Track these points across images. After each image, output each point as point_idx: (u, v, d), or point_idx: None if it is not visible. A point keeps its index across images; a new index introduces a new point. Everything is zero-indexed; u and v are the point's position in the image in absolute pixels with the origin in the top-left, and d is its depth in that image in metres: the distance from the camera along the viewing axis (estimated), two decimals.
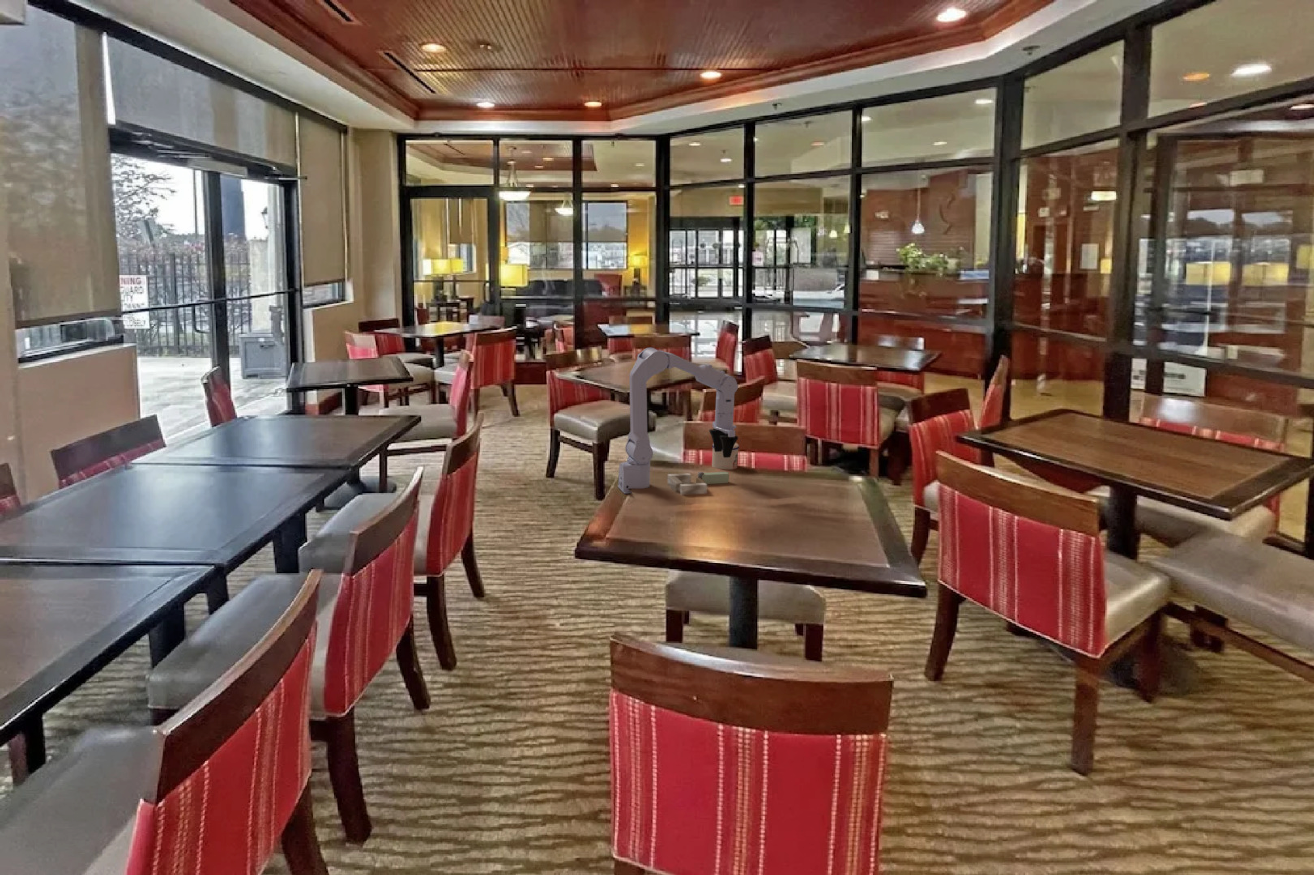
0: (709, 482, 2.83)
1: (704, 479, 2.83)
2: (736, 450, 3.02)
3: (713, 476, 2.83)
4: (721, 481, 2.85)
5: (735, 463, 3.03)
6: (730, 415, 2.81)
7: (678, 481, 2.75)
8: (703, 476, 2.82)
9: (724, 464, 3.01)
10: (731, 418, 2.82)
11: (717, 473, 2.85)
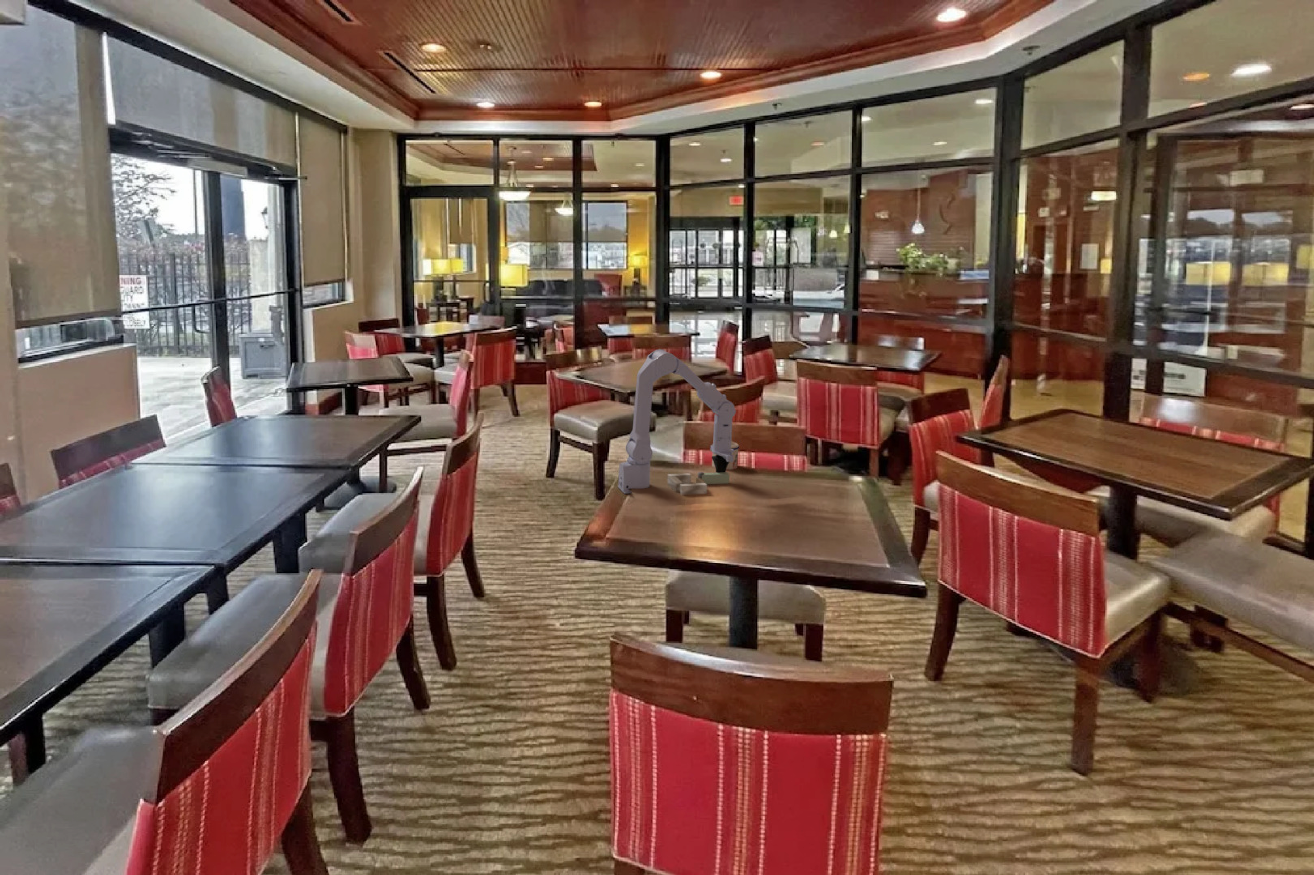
0: (709, 482, 2.83)
1: (704, 479, 2.82)
2: (736, 450, 3.02)
3: (713, 476, 2.83)
4: (721, 481, 2.84)
5: (735, 463, 3.03)
6: (728, 439, 2.82)
7: (678, 481, 2.75)
8: (703, 476, 2.82)
9: None
10: (729, 442, 2.82)
11: (717, 473, 2.84)
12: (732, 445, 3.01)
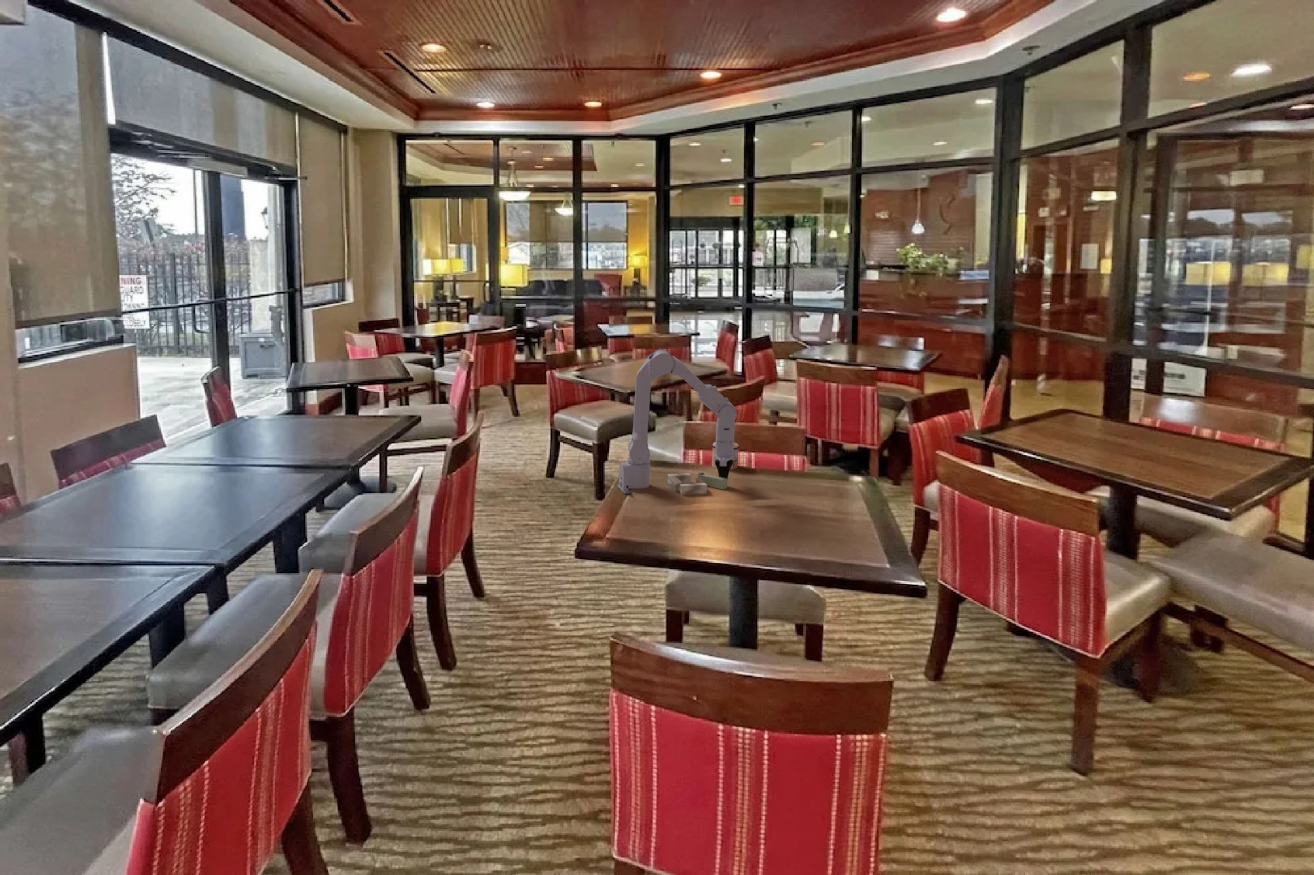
0: None
1: None
2: (736, 450, 3.02)
3: (708, 478, 2.80)
4: (716, 486, 2.79)
5: (735, 463, 3.03)
6: (727, 444, 2.76)
7: (678, 481, 2.75)
8: (699, 476, 2.82)
9: None
10: (729, 447, 2.76)
11: (715, 477, 2.80)
12: None
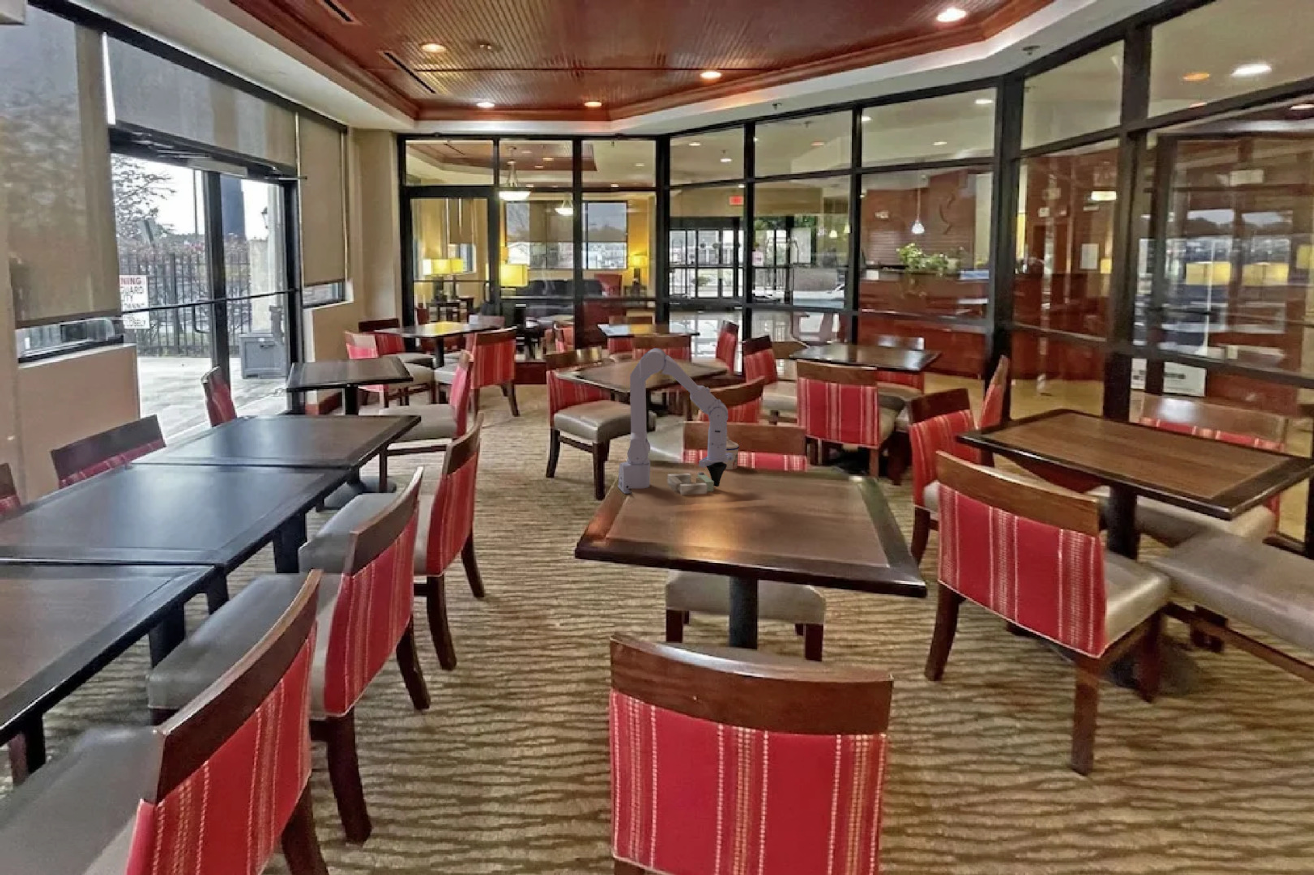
0: None
1: None
2: (736, 450, 3.02)
3: None
4: None
5: (735, 463, 3.03)
6: (714, 446, 2.72)
7: (678, 481, 2.75)
8: (697, 476, 2.83)
9: None
10: (716, 450, 2.72)
11: (705, 478, 2.78)
12: (732, 445, 3.01)
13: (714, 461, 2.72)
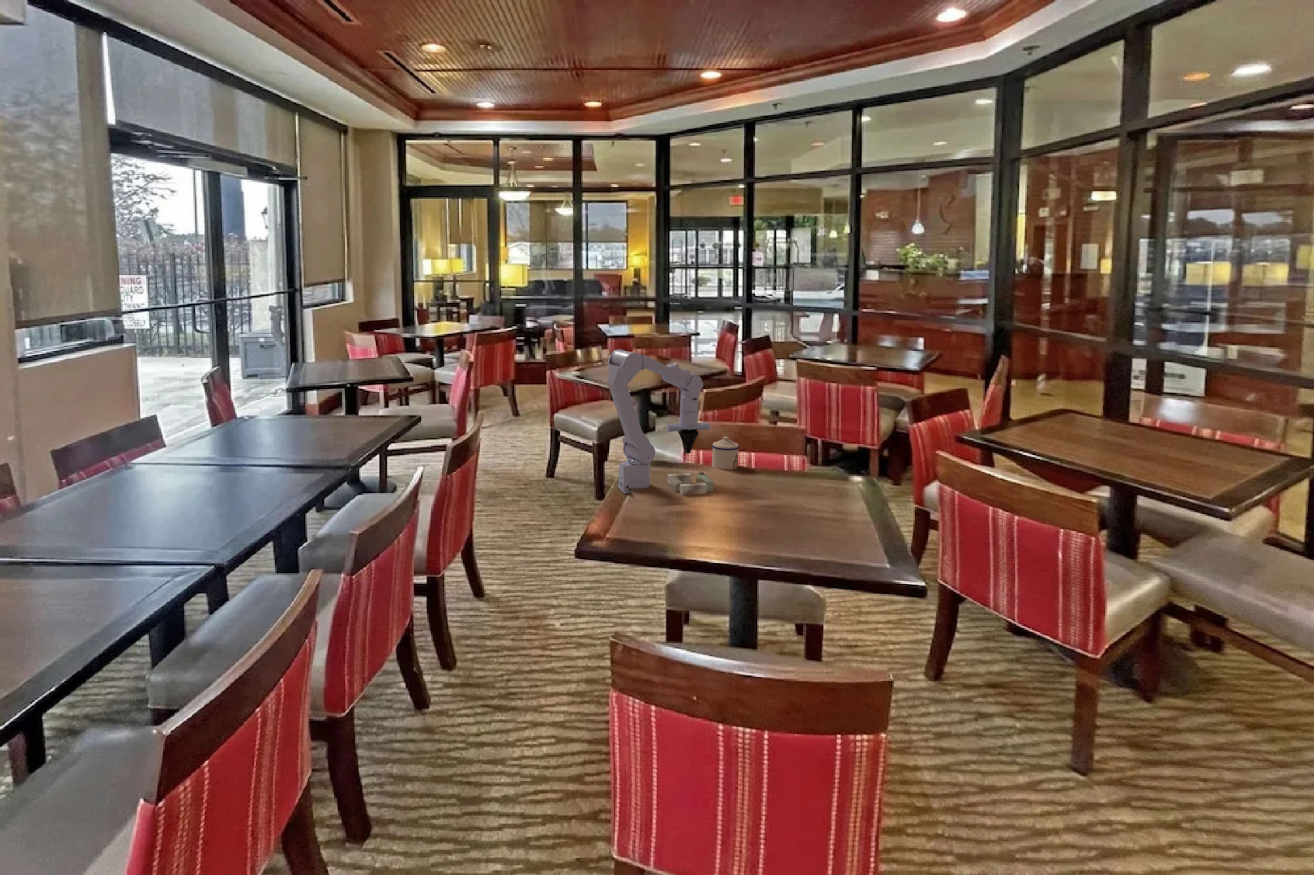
0: None
1: None
2: (736, 450, 3.02)
3: None
4: None
5: (735, 463, 3.03)
6: (682, 413, 2.83)
7: (678, 481, 2.75)
8: (697, 476, 2.83)
9: (724, 464, 3.01)
10: (684, 416, 2.83)
11: (705, 478, 2.78)
12: (732, 445, 3.01)
13: (680, 427, 2.83)
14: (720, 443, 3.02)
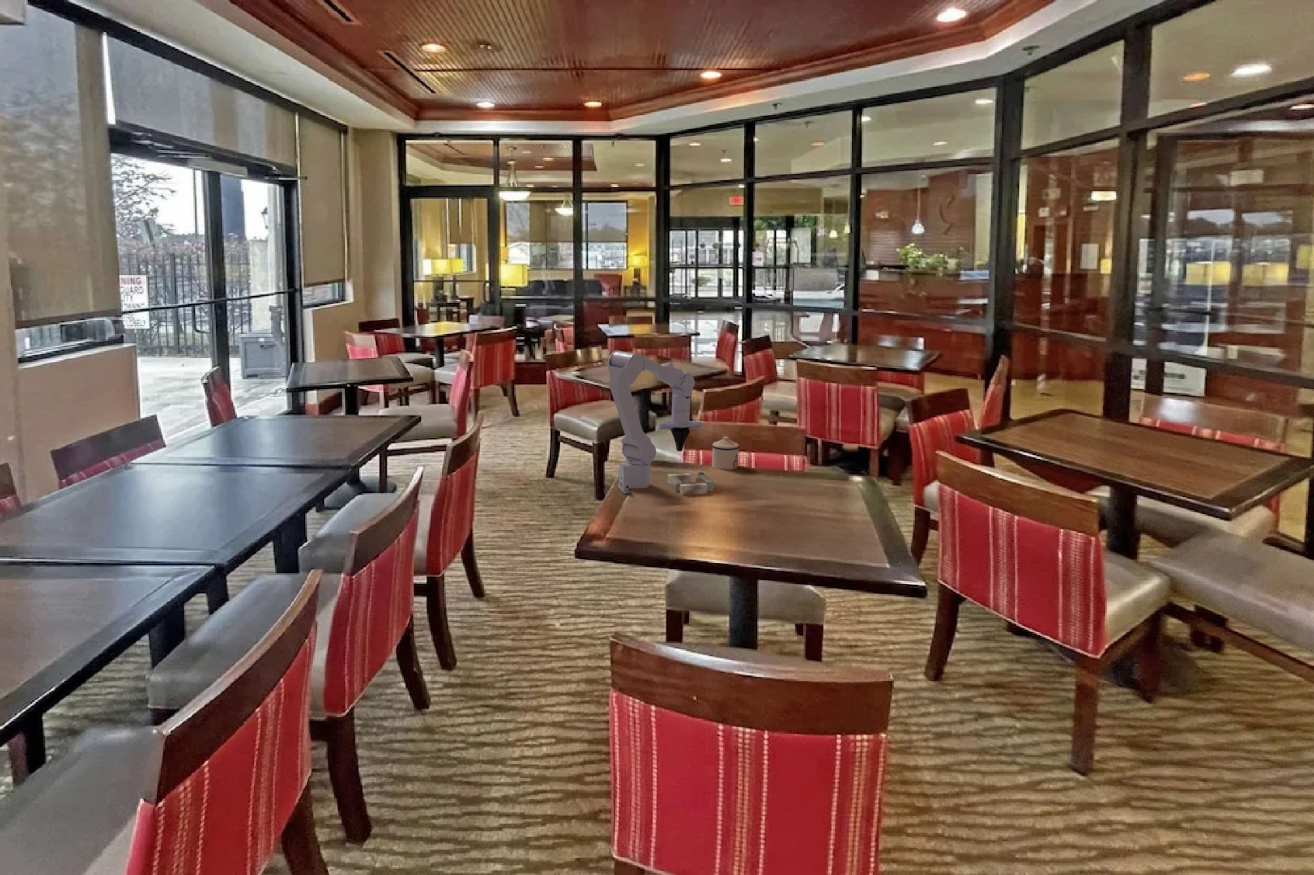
0: None
1: None
2: (736, 450, 3.02)
3: None
4: None
5: (735, 463, 3.03)
6: (674, 411, 2.85)
7: (678, 481, 2.75)
8: (697, 476, 2.83)
9: (724, 464, 3.01)
10: (675, 414, 2.85)
11: (705, 478, 2.78)
12: (732, 445, 3.01)
13: (672, 425, 2.85)
14: (720, 443, 3.02)
